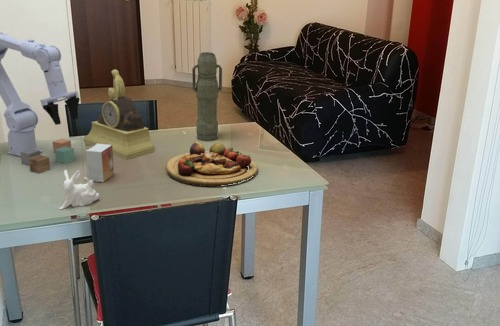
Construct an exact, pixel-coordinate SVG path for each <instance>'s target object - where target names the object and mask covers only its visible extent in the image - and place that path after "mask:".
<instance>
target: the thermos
mask: <svg viewBox="0 0 500 326" xmlns="http://www.w3.org/2000/svg"><path fill="white" fill-rule="evenodd" d="M217 62H218V60H217V57H216V54H215V53H213V52H208V51H206V52H201V53H199V55H198V58H197V63H196V64H195V65H194V66H193V67H192V71H191V72H192V73H191V74H192V76H191V77H192V79H191V80H192V90H193V91H194V92H195V93H196V98H197V120H196V129H195V131H196V139H197V140H199V141H202V142H211V141H212V142H213V141H216V140H218V133H219V123H218V119H217V117H218V115H217V114H218V111H217V110H218V107H217V106H218V105H217V104H218V103H217V102H218V97H219V92H220V91H221V92H222V89H223V68H222V66H221V65H220V64H218V63H217ZM196 69H197V80H196ZM217 69H219V70H217ZM217 72H218V77H217ZM217 78H218V79H217Z"/></svg>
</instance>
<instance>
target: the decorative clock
mask: <svg viewBox="0 0 500 326" xmlns="http://www.w3.org/2000/svg"><path fill="white" fill-rule="evenodd" d="M111 75H112V77H113V78H112V80H113V82H112V84H113V85H112V86H113V87H109V88H108V90H107V91H108V93H107V94H108V97H109V100H108V101H106V102H104V103H103V105H102V109H101V112H100V114H99V115H98V117H97V120H96V121H91V129H90V131H89V133H88V134H87V135H86V136H85V137H83V139H82V140H83V143H84V142H85V143H84V144H86V143H87V144H86V145H88V144H89V145H88V146H91V147H93V146H95V145H96V144H107V145H112V150H113V156H117V157H119V158H121V159H123V160H126V161H127V160H128V161H129V160H131V159H135V158H138V157H141V156H145V155H149V154H151V153H155V151H156V149H155V146H154V143H153V141H152V140H151V136H150V131H149V129H150V128H148V127H146V126H144V123H143V119H142V116H141V114H140V112H139V109H138V108H137V107H136V104H135V103H134V102H133V100H132V98H131V97H129V96H126V87H125V86H126V85H125V82H124V80H123V78H122V76H121V74H120V72H119V70H117V69H112V70H111Z"/></svg>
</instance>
